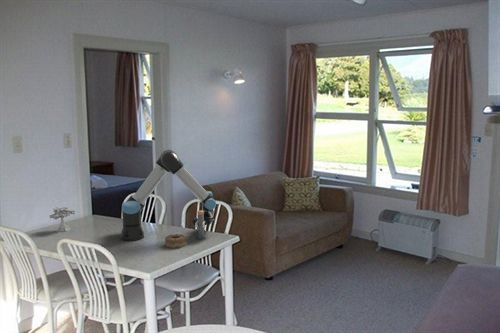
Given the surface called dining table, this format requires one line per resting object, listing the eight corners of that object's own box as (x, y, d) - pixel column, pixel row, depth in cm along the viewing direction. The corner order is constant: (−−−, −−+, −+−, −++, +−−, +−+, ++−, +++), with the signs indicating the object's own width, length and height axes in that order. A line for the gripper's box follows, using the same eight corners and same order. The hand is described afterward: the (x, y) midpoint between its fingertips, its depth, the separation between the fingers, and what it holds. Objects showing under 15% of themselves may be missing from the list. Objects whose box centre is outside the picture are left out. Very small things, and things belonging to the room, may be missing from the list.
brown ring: (163, 243, 304) (163, 235, 303) (182, 241, 309) (182, 233, 308) (169, 248, 293) (168, 240, 292) (188, 246, 298) (187, 238, 297)
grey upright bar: (197, 237, 316) (196, 210, 314) (203, 237, 318) (202, 210, 315) (199, 239, 312) (198, 212, 310) (205, 238, 314) (204, 211, 312)
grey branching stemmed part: (51, 234, 328) (49, 210, 326) (47, 229, 342) (45, 206, 340) (78, 231, 337) (77, 207, 335) (74, 226, 351) (72, 203, 349)
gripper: (217, 222, 331) (212, 231, 308) (193, 222, 333) (186, 231, 309) (217, 211, 330) (212, 219, 307) (193, 211, 332) (186, 219, 308)
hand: (199, 225), depth 308 cm, fingers closed on grey upright bar, 4 cm apart
